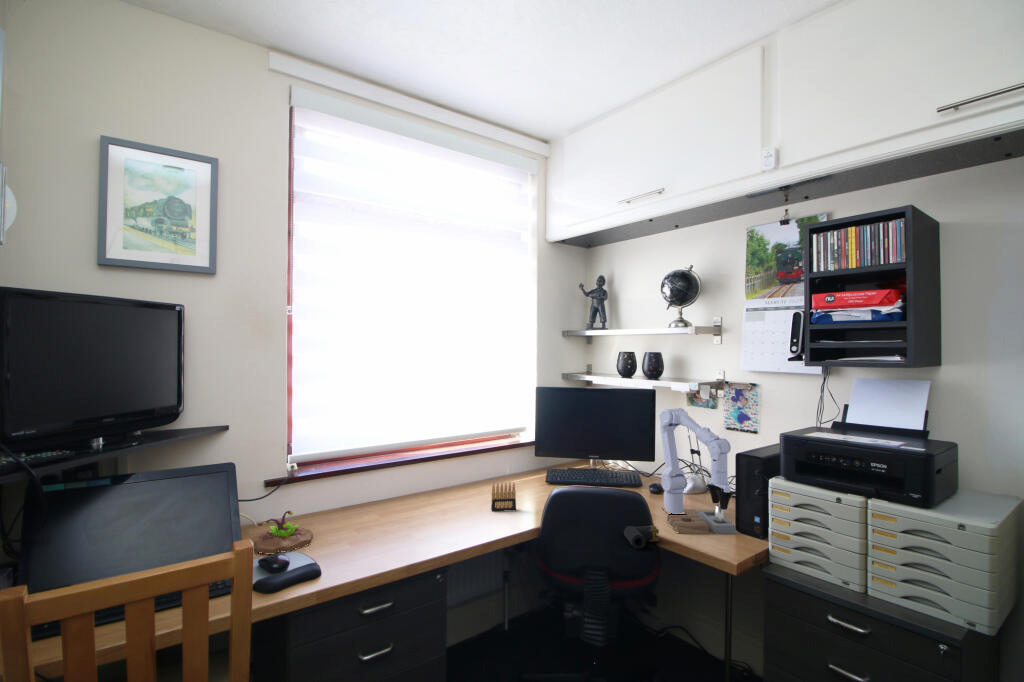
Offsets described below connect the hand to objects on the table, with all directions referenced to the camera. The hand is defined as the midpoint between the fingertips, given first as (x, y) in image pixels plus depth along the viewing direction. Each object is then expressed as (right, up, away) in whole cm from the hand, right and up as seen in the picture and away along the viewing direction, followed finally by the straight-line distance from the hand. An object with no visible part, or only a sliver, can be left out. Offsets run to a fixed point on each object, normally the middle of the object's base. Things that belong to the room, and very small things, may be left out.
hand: (719, 506), depth 191 cm
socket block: (-12, -9, +1) cm, 15 cm away
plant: (-162, -9, -14) cm, 163 cm away
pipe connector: (-33, -9, -12) cm, 36 cm away
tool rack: (0, -9, +4) cm, 10 cm away
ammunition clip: (-84, -10, +23) cm, 87 cm away
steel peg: (0, -9, 0) cm, 9 cm away
